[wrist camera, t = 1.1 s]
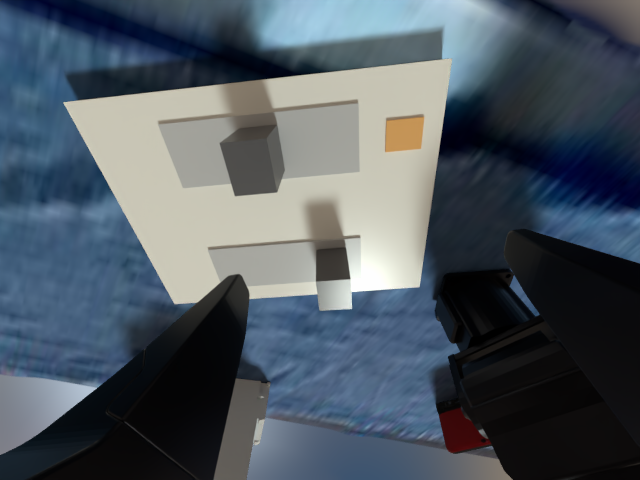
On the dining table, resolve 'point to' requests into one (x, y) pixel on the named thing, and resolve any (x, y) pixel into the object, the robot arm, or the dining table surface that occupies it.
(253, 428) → the circuit breaker
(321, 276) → the block
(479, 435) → the handheld game console
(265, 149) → the block
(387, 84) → the board
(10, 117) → the dining table surface
